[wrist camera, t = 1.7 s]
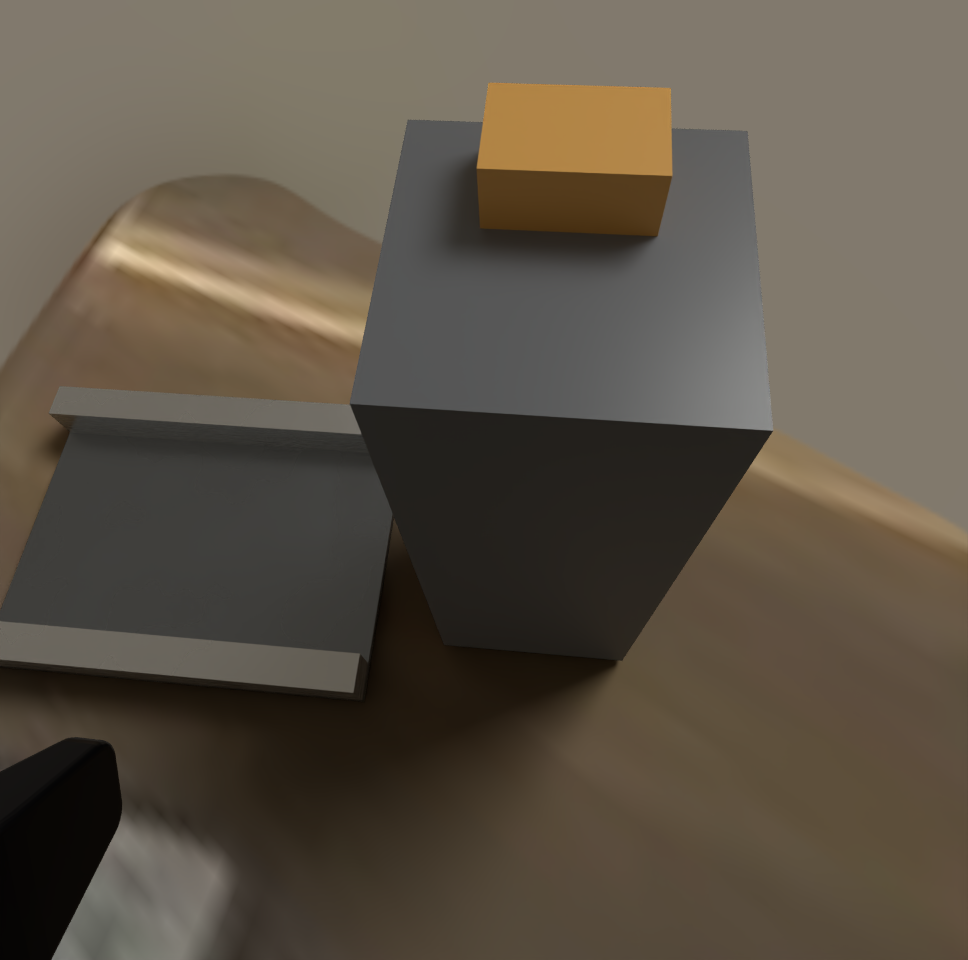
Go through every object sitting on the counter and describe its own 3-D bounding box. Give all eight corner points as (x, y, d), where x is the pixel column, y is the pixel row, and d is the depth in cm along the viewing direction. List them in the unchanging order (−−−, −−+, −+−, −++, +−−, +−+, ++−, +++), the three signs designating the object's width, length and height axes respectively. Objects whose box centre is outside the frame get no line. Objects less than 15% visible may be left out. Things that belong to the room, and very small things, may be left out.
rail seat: (364, 701, 20) (353, 692, 18) (-14, 665, 21) (-51, 654, 19) (407, 432, 23) (401, 408, 22) (85, 410, 24) (59, 386, 23)
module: (622, 660, 20) (804, 383, 7) (444, 645, 20) (331, 355, 8) (624, 496, 22) (769, 65, 10) (462, 485, 23) (397, 55, 10)
